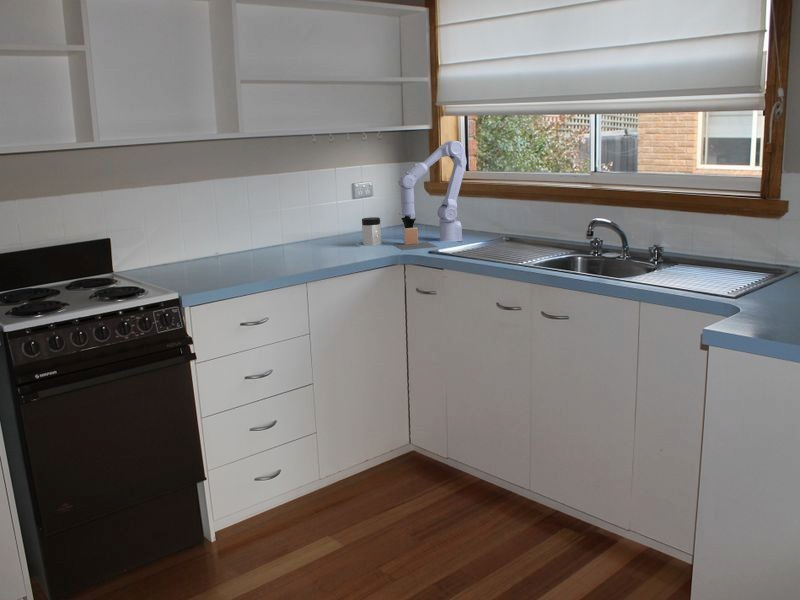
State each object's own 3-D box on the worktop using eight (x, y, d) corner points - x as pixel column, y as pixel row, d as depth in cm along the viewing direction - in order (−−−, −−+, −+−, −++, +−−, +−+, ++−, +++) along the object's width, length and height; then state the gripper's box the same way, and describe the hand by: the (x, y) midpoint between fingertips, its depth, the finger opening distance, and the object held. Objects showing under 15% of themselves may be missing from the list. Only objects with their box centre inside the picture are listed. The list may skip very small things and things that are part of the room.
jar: (369, 247, 353) (367, 220, 350) (358, 245, 359) (357, 218, 357) (385, 244, 358) (384, 217, 355) (375, 243, 364) (374, 216, 362)
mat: (426, 243, 357) (426, 241, 357) (438, 248, 342) (438, 246, 342) (392, 246, 353) (392, 244, 353) (402, 251, 338) (402, 250, 338)
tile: (417, 243, 354) (416, 227, 352) (418, 243, 352) (417, 227, 351) (404, 244, 352) (403, 228, 351) (405, 245, 351) (404, 229, 349)
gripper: (394, 201, 357) (396, 232, 360) (403, 204, 343) (404, 236, 346) (409, 200, 358) (411, 230, 361) (419, 203, 345) (420, 234, 348)
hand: (409, 233), depth 354 cm, fingers closed
